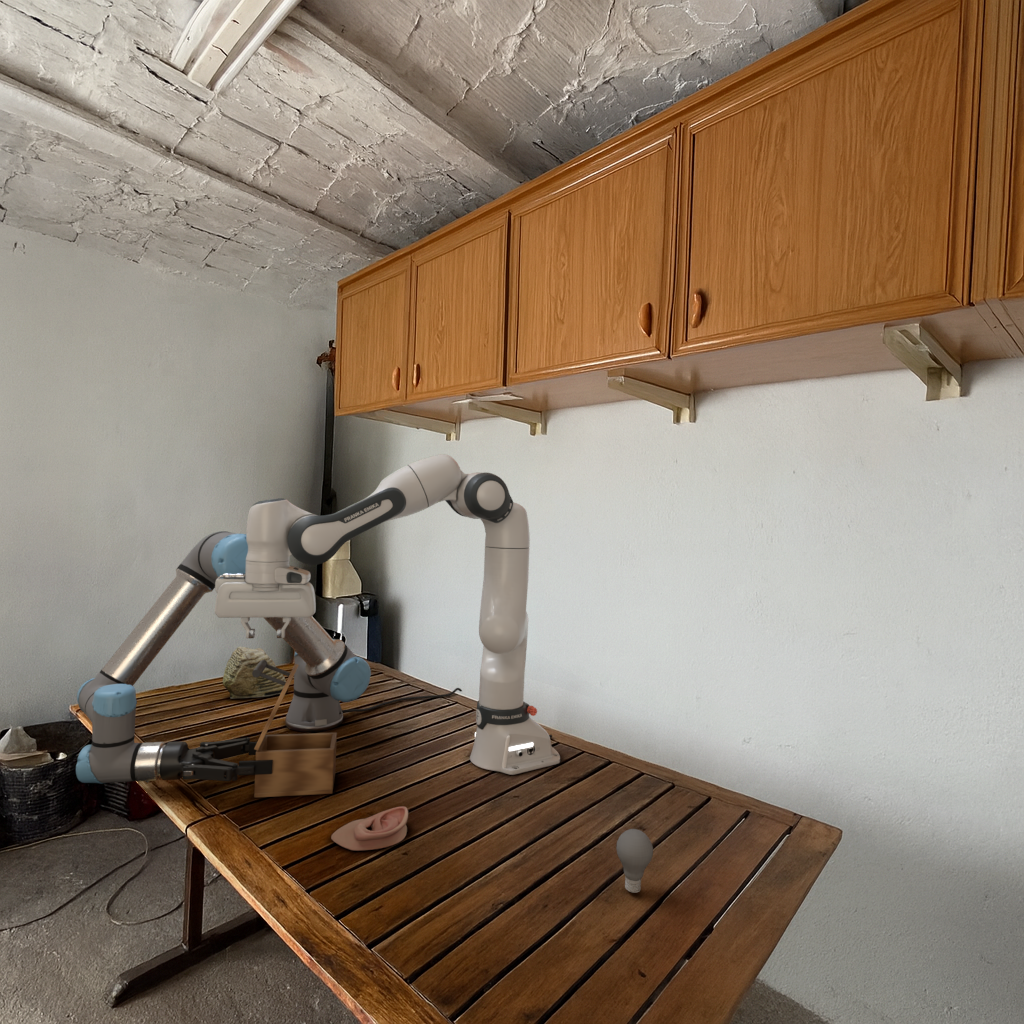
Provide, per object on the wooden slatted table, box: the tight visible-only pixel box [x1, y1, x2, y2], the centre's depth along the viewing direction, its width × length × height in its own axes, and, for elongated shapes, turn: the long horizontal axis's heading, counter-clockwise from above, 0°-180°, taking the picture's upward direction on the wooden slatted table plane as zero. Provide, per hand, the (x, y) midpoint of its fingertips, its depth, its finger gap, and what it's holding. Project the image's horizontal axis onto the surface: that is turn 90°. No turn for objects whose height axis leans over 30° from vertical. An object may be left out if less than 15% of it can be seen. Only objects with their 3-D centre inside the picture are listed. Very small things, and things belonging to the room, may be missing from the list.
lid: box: [252, 660, 299, 751], centre depth 136 cm, size 17×10×8 cm
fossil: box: [222, 646, 287, 699], centre depth 198 cm, size 9×18×15 cm, turn 132°
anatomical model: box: [330, 805, 409, 852], centre depth 119 cm, size 13×4×12 cm
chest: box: [253, 732, 338, 798], centre depth 138 cm, size 16×10×10 cm, turn 102°
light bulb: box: [615, 828, 654, 894], centre depth 106 cm, size 6×6×10 cm
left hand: (276, 756), depth 137 cm, fingers closed on chest, 10 cm apart
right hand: (265, 637), depth 136 cm, fingers open, 5 cm apart
